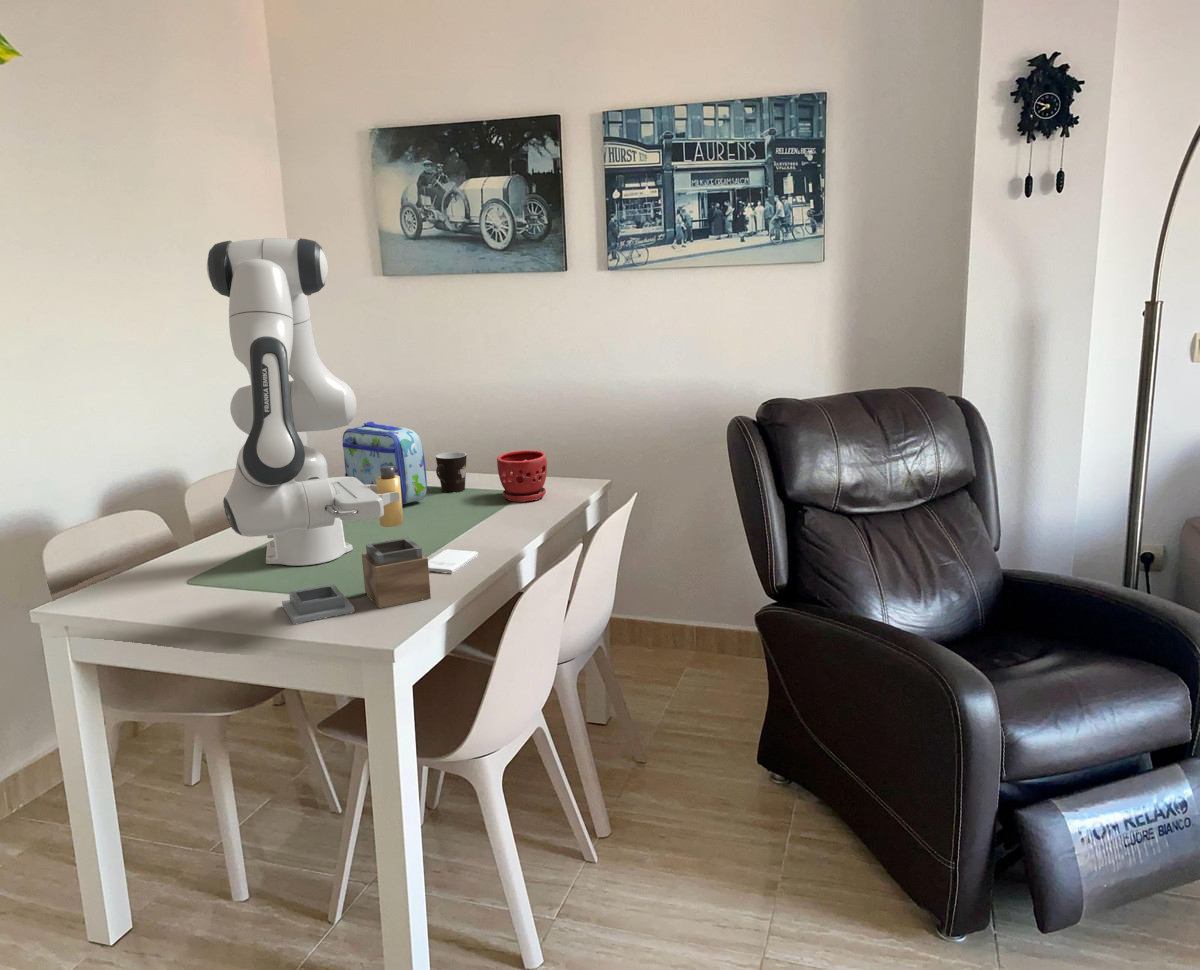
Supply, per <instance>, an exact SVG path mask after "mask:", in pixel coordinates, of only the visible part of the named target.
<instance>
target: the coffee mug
mask: <svg viewBox="0 0 1200 970" xmlns="http://www.w3.org/2000/svg"><path fill="white" fill-rule="evenodd" d="M467 455H468V454H467V453H466V452H460V451H459V452H458V451H457V452H456V451H455V452H454V451H452V452H443V453H438V454H436V455H435V461H436V466H437V467H436V469H435V471H436V472H435V473H436V476H437V478H438V480H439V481H440V487H441V491H443V492H442V493H445V494H446V493H447V494H448V493H449V494H451V493H452V494H454V493H453V492H456V493H461V492H464V491H465V490H466V477H467V476H466V474H467V473H466V472H467ZM463 490H464V491H463ZM460 491H461V492H460Z"/></svg>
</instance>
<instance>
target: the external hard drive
mask: <svg viewBox="0 0 1200 970" xmlns="http://www.w3.org/2000/svg"><path fill="white" fill-rule="evenodd" d="M477 556H478V557H479V552H478V551H473V550H472V551H471V550H464V549H463V550H462V549H461V550H459V549H447V548H446V549H443V550H442V551H441V552H439V553H438V554H436V555H434V556H432V557H431V558H430V559H429V560H428V569H429V571H435V572H434V573H438V572H447V573H453V572H455V571H456V570H458V569H459V568H460V567H462V566H463V567H465V566H466V565H467V564H466V563H468V562H469V561H471V560H472V559H474V558H475V557H476V558H478V557H477ZM476 558H475V559H476ZM475 559H474V560H475ZM472 561H473V560H472ZM472 561H471V562H472ZM469 563H470V562H469ZM469 563H468V564H469ZM465 564H466V565H465ZM464 565H465V566H464ZM463 567H462V568H463ZM459 570H460V569H459ZM459 570H458V571H459ZM456 572H457V571H456ZM456 572H455V573H456ZM453 574H454V573H453Z"/></svg>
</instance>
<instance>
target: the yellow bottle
mask: <svg viewBox="0 0 1200 970" xmlns="http://www.w3.org/2000/svg"><path fill="white" fill-rule="evenodd" d="M380 474H381V476H379V477H377V478H376V485H377V494H384V493H388V491H397V492H398V493H399V501H397V502H391V503H389V504H386V505H384V506H383V507H384V515H383V516H382V517H380V518H378V519H379V526H381V527H385V528H392V527H398V526H401V525H403V524H404V516H403V515H404V513H403V505H402V498H401V485H400V476H398V475H395V471H394V466H383V467H380Z"/></svg>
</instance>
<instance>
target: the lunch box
mask: <svg viewBox="0 0 1200 970" xmlns="http://www.w3.org/2000/svg"><path fill="white" fill-rule="evenodd" d="M342 449H343V456H344V457H343V458H344V459H343V460H344V469H345V474H344V477H355V478H357V479H358V480H359V481H360V482H362V483H363V484H364V485H368V484H371V485H376V478H377V477H379V476H381V474H380V467H383V466H394V471H395V475H398V476H400V485H401V498H402V506H403V505H407V504H410V503H413V502H416V501H421V500H424V498H425V497H426V496H427V491H428V490H427V489H428V482H427V481H428V480H427V471H426V470H427V469H426V461H425V453H424V447H423V444H422V441H421V438H420V436H419V434H417V432H415V431H414V430H413V429H410V428H407V427H402V426H395V425H389V424H379V423H377V424H376V423H375V422H374V421H368V422H367V421H366V422H364V423H363V425H361V426H355V427H353V428H347V429H346V430H345V431H344V432H343V434H342Z"/></svg>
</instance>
